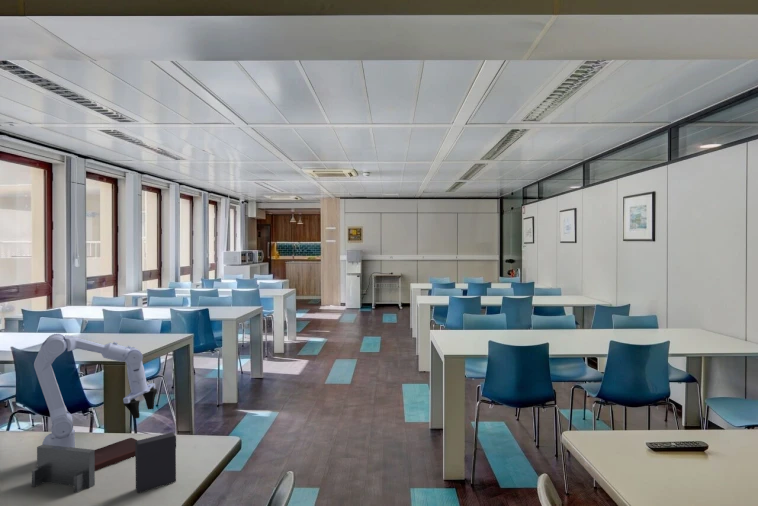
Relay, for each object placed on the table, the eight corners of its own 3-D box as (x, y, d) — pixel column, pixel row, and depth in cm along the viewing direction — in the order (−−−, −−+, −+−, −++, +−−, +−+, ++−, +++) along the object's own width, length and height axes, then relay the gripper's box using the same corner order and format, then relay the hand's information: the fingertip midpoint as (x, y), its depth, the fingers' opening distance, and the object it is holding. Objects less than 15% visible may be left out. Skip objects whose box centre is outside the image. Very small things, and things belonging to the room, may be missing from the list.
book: (148, 453, 166) (148, 444, 166) (90, 474, 150) (90, 464, 150) (130, 445, 173) (130, 437, 173) (74, 465, 157) (73, 455, 157)
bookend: (28, 486, 142) (27, 451, 142) (43, 478, 147) (42, 444, 147) (81, 493, 138) (80, 456, 138) (94, 484, 142) (94, 449, 142)
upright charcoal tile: (173, 477, 147) (172, 431, 147) (176, 482, 143) (176, 435, 143) (135, 488, 140) (134, 440, 140) (137, 494, 136) (137, 444, 136)
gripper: (132, 386, 166) (138, 421, 167) (159, 371, 180) (165, 404, 181) (116, 387, 167) (122, 422, 169) (144, 372, 181) (150, 405, 183)
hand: (143, 413), depth 175 cm, fingers open, 7 cm apart
